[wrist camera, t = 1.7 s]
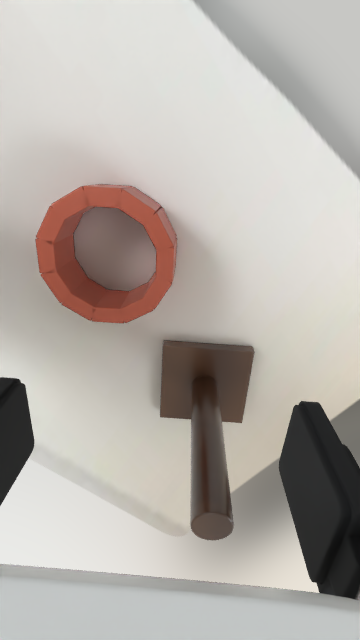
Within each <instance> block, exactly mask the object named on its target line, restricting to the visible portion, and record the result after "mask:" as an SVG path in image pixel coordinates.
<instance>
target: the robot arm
mask: <svg viewBox="0 0 360 640" xmlns="http://www.w3.org/2000/svg"><path fill="white" fill-rule="evenodd" d="M33 448H34V436H33V430H32V424H31V418H30V412H29V406H28V400H27V394H26V388H25V385H24V384H23V383H21V382H20V380H19V379H16V378H3V377H2V378H0V505H1V504H2V502H3V500H4V499H5V497H6V495H7V493H8V492H9V490H10V488H11V487H12V485H13V483H14V482H15V480H16V478H17V476H18V475H19V473H20V471H21V470H22V468H23V466H24V465H25V463H26V461H27V460H28V458H29V456H30V454H31V453H32V451H33ZM279 471H280V475H281V479H282V482H283V486H284V489H285V493H286V496H287V500H288V503H289V507H290V511H291V514H292V517H293V521H294V524H295V528H296V532H297V535H298V538H299V542H300V546H301V549H302V553H303V556H304V559H305V563H306V567H307V570H308V574H309V577H310V579H311V581H312V582H317V586H318V589H319V592H320V593H313V592H305V591H296V590H287V589H277V588H270V587H260V586H250V585H238V584H227V583H217V582H205V581H195V580H184V579H174V578H162V577H151V576H140V575H127V574H117V573H105V572H93V571H82V570H70V569H57V568H45V567H33V566H20V565H7V564H0V640H360V468H359V466H358V464H357V463H356V461H355V459H354V457H353V455H352V454H351V452H350V450H349V449H348V448H347V446H345V445H343V444H342V443H341V441H340V440H339V438H338V436H337V434H336V432H335V430H334V429H333V427H332V425H331V423H330V421H329V419H328V418H327V416H326V414H325V412H324V410H323V408H322V407H321V405H320V404H319V403H318V402H306V401H301V402H300V403H299V405H295V406H294V408H293V412H292V415H291V419H290V423H289V427H288V430H287V434H286V438H285V442H284V445H283V449H282V453H281V457H280V461H279Z"/></svg>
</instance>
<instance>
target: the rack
mask: <svg viewBox="0 0 360 640" xmlns="http://www.w3.org/2000/svg"><path fill="white" fill-rule="evenodd" d="M253 357H254V350H253V347H251V346H236V345H221V344H207V343H192V342H178V341H164V343H163V359H162V384H161V409H160V417H165V418H179V419H191V529H192V531H193V532H194V534H195V535H196V536H198V537H200V538H202V539H206V540H219V539H223V538H225V537H227V536H228V535H229V534H231V532H232V530H233V528H234V524H233V515H232V506H231V498H230V489H229V480H228V471H227V463H226V454H225V445H224V437H223V428H222V422H236V423H242V419H243V414H244V408H245V402H246V397H247V391H248V385H249V380H250V374H251V368H252V363H253Z"/></svg>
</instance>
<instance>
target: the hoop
mask: <svg viewBox="0 0 360 640" xmlns="http://www.w3.org/2000/svg"><path fill="white" fill-rule="evenodd" d="M51 205H52V206H50V207H49V209H48V211H47V213H46V215H45V218H44V220H43V222H42V224H41V226H40V229H39V231H38V233H37V235H36V237H37V239H36V247H37V255H38V263H39V271H40V273H42V274H41V276H42V278H43V279H44V281H45V282H46V284H47V285H48V286H49V288H50V289H51V291H52V292H53V294H54V295H55V297H56V298H57V299H58V301H59V302H60V303H62V305H64V306H65V307H67V308H69V309H71V310H72V311H74V312H76V313H78V314H79V315H81V316H83V317H84V318H86V319H88V320H91V319H92V321H95V322H109V323H124V322H125V323H127V322H129V321H131V320H134V319H136V318H138V317H140V316H142V315H144V314H147V313H149V312H151V311H153V309H155V308H156V307H157V305H158V304H159V302H160V301H161V299H162V298H163V296H164V295H165V293H166V292H167V290H168V289H169V287H170V286H171V285H172V281H173V277H174V272H175V267H176V249H177V238H176V234H175V231H174V229H173V227H172V225H171V223H170V221H169V219H168V217H167V215H166V213H165V211H164V209H163V208H160V207H161V205H160V204H158V203H157V202H155V201H154V200H152V199H151V198H149V197H148V196H147V195H145V194H144V193H142V192H141V191H139V190H138V189H136V188H135V187H132V186H121V185H105V184H98V185H88V186H82V187H79V188H78V189H76V190H74V191H73V192H71V193H69V194H68V195H66V196H64V197H63V198H61V199H59V200H57V201H56V202H54V203H52V204H51ZM94 207H109V208H118V209H120V210H121V211H123V212H124V213H126V214H127V215H129V216H130V217H132V218H133V219H135V220H136V221H138V222H139V223H141V224H142V225H143V226H144V228H145V229H146V231H147V233H148V235H149V237H150V239H151V241H152V243H153V245H154V246H155V248H156V250H157V251H156V272H155V273H154V275H153V276H152V278H151V279H150V281H149V282H148V283H146V284H143V285H141V286H139V287H137V288H135V289H133V290H131V291H118V290H107V289H105V288H104V287H102V286H100V285H99V284H97V283H96V282H94V281H92V280H91V279H89V278H88V277H87V276H86V274H85V273H84V271H83V269H82V268H81V266H80V265H79V263H78V262H77V260H76V258H75V252H74V239H73V233H74V231H75V229H76V227H77V225H78V223H79V221H80V219H81V217H82V215H83V213H85V212H87V211H88V210H90V209H92V208H94Z"/></svg>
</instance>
